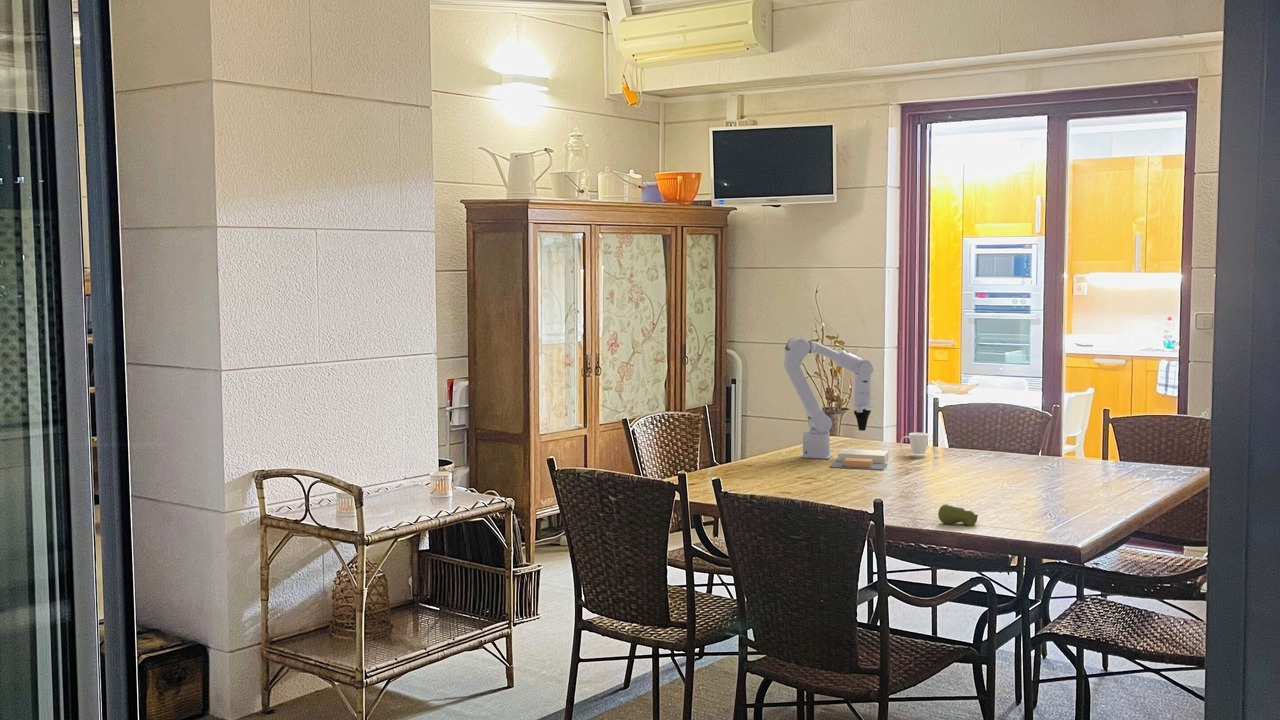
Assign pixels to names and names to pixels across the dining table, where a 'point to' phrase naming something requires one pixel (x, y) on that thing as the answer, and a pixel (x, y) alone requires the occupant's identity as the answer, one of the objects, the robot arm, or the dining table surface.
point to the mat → (874, 467)
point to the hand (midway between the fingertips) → (862, 430)
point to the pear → (956, 515)
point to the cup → (917, 443)
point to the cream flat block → (864, 455)
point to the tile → (858, 462)
